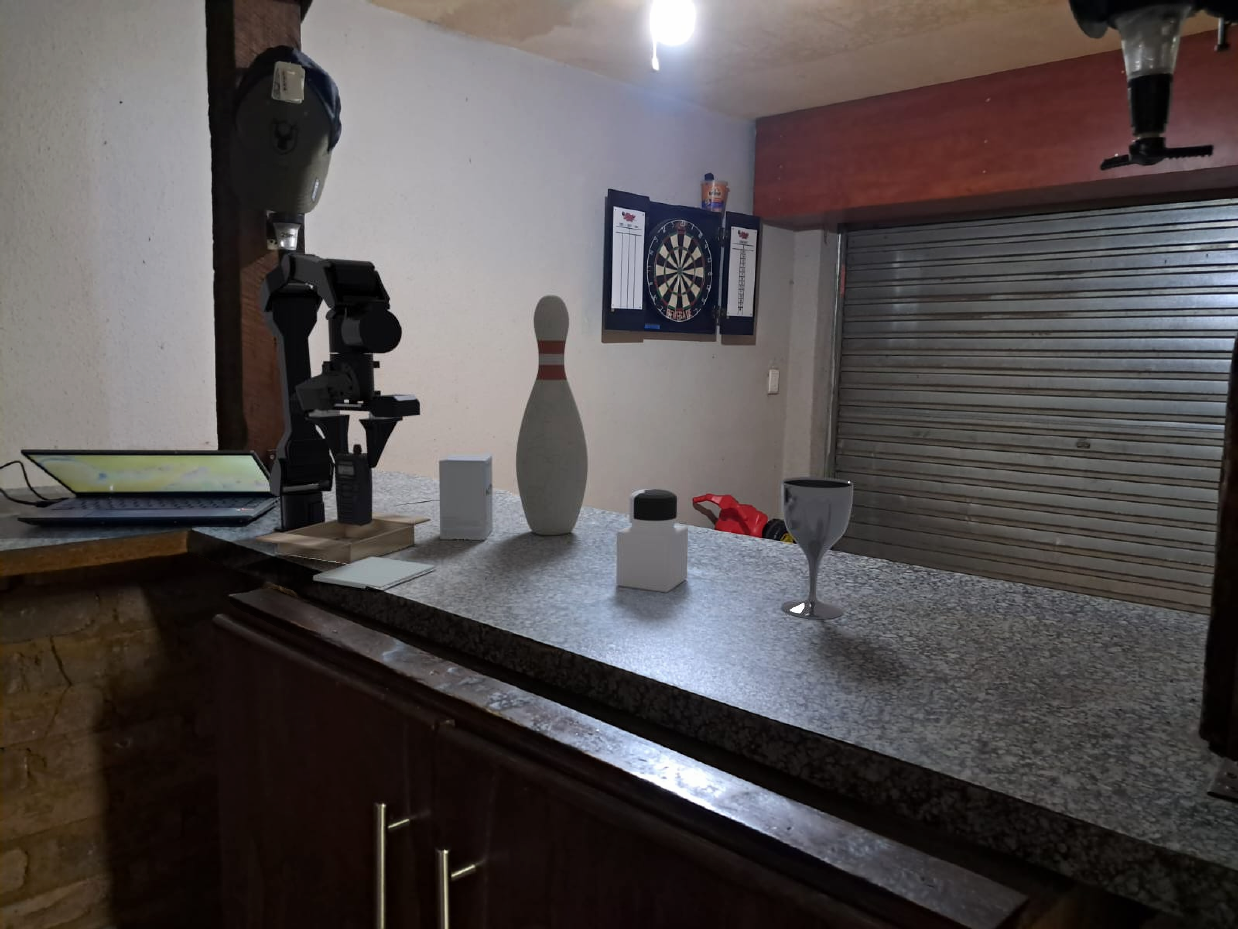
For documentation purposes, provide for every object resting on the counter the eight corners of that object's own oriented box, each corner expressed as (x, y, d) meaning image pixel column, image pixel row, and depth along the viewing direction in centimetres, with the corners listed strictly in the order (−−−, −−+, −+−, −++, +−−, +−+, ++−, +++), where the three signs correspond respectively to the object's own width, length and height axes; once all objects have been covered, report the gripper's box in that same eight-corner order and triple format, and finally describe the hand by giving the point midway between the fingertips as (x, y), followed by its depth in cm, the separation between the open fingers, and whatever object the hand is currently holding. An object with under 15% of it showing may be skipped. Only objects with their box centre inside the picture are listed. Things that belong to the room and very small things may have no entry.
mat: (313, 580, 108) (313, 575, 108) (371, 560, 118) (371, 556, 118) (380, 591, 103) (380, 586, 103) (435, 570, 113) (435, 565, 113)
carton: (255, 561, 117) (254, 537, 117) (362, 530, 137) (362, 510, 136) (330, 572, 112) (329, 548, 111) (430, 539, 131) (430, 518, 131)
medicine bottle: (687, 579, 110) (689, 489, 108) (667, 593, 104) (669, 497, 102) (637, 572, 113) (638, 484, 111) (615, 586, 107) (616, 493, 105)
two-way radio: (331, 524, 117) (326, 417, 115) (353, 518, 121) (349, 414, 119) (362, 528, 115) (358, 418, 113) (384, 522, 119) (380, 416, 117)
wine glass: (807, 624, 92) (813, 490, 90) (763, 604, 99) (767, 479, 97) (862, 614, 96) (868, 485, 94) (815, 595, 103) (821, 475, 101)
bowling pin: (534, 543, 129) (533, 291, 124) (506, 528, 139) (504, 295, 134) (598, 535, 135) (599, 294, 129) (567, 522, 145) (567, 297, 139)
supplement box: (486, 540, 131) (485, 460, 129) (439, 540, 131) (437, 459, 129) (494, 530, 138) (493, 454, 136) (449, 529, 138) (447, 453, 136)
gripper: (254, 353, 111) (260, 470, 113) (364, 353, 103) (368, 479, 106) (316, 353, 121) (321, 460, 123) (421, 353, 114) (424, 468, 116)
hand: (356, 466), depth 117 cm, fingers closed on two-way radio, 5 cm apart
